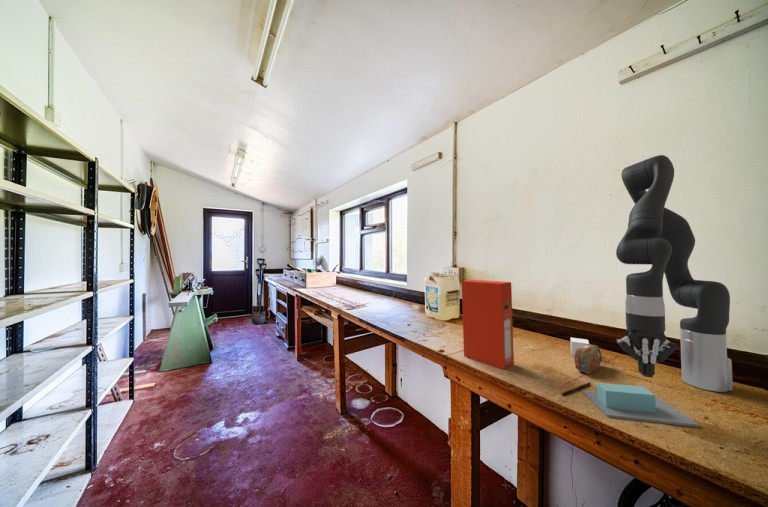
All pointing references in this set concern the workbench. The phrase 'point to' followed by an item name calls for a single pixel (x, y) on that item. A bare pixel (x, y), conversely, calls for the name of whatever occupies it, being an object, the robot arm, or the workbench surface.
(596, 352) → the tin
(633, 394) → the block
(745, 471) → the workbench surface
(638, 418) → the mat
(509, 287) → the file binder
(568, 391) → the dark brown rod
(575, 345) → the white cube
